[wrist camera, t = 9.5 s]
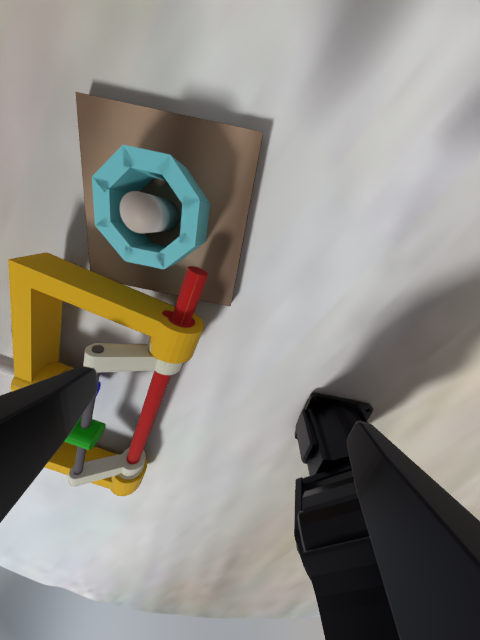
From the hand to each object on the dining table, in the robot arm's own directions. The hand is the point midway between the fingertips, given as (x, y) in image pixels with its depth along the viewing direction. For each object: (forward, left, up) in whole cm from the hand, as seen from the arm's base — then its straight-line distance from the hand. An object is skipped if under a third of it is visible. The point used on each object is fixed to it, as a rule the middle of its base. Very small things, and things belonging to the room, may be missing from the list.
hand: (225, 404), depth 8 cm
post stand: (+7, -5, -13) cm, 16 cm away
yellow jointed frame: (+14, +11, -13) cm, 22 cm away
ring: (+7, -5, -12) cm, 15 cm away
